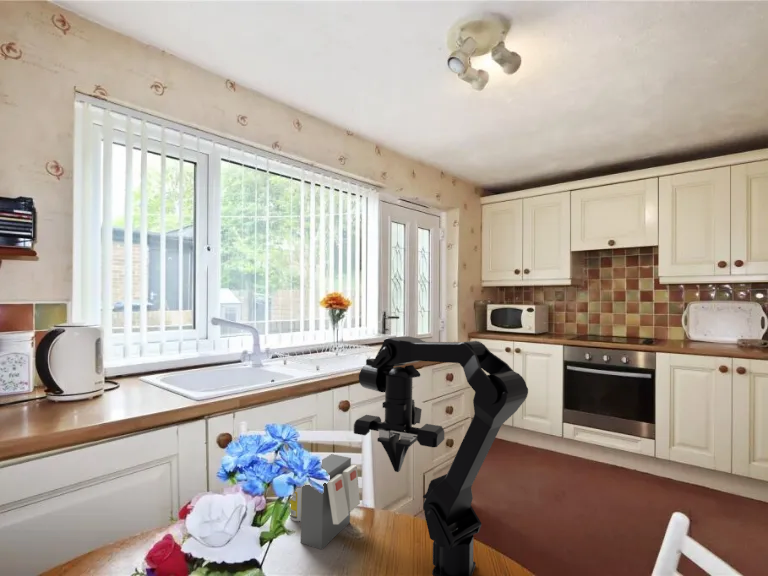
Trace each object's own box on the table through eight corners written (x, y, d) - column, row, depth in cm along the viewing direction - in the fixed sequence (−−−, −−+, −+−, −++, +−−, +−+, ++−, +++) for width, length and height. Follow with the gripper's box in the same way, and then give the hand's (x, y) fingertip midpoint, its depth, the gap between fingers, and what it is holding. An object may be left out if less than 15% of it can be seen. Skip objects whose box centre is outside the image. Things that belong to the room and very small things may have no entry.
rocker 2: (361, 503, 88) (357, 465, 89) (351, 512, 85) (348, 472, 86) (355, 502, 89) (351, 464, 90) (345, 511, 85) (342, 471, 86)
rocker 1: (349, 514, 83) (343, 474, 84) (339, 524, 80) (333, 481, 81) (343, 514, 84) (337, 474, 85) (333, 524, 80) (326, 481, 81)
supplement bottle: (316, 510, 95) (317, 467, 96) (310, 523, 90) (311, 477, 90) (293, 509, 96) (294, 466, 96) (286, 521, 90) (287, 476, 91)
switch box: (349, 522, 90) (350, 457, 91) (321, 549, 80) (323, 476, 81) (330, 517, 93) (331, 454, 93) (300, 542, 83) (302, 472, 83)
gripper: (452, 393, 90) (451, 465, 90) (376, 385, 98) (374, 451, 98) (436, 405, 80) (435, 486, 80) (352, 394, 88) (351, 468, 88)
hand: (397, 471), depth 87 cm, fingers closed
